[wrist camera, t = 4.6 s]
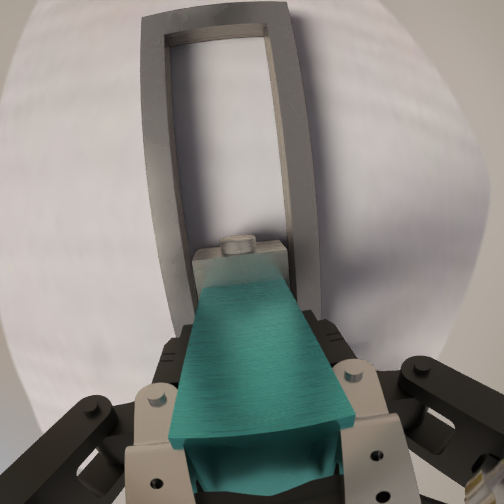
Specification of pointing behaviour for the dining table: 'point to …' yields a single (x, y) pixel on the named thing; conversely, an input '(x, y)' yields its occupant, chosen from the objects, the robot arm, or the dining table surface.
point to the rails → (288, 131)
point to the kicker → (255, 377)
